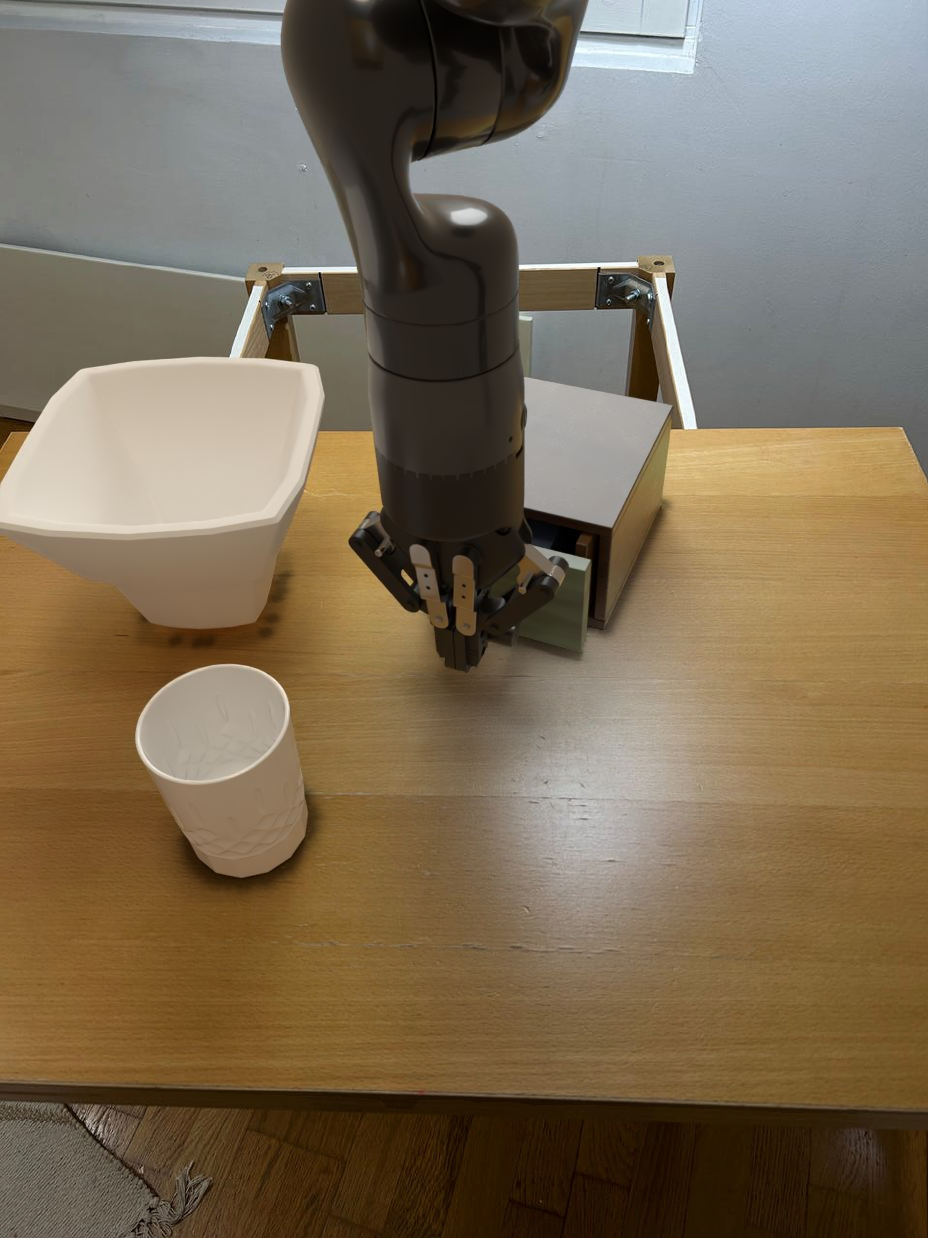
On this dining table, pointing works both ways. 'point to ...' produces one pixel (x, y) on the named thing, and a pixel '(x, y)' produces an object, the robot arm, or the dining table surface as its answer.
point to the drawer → (559, 597)
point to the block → (549, 535)
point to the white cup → (227, 766)
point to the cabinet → (596, 473)
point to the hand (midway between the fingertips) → (463, 660)
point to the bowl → (170, 481)
